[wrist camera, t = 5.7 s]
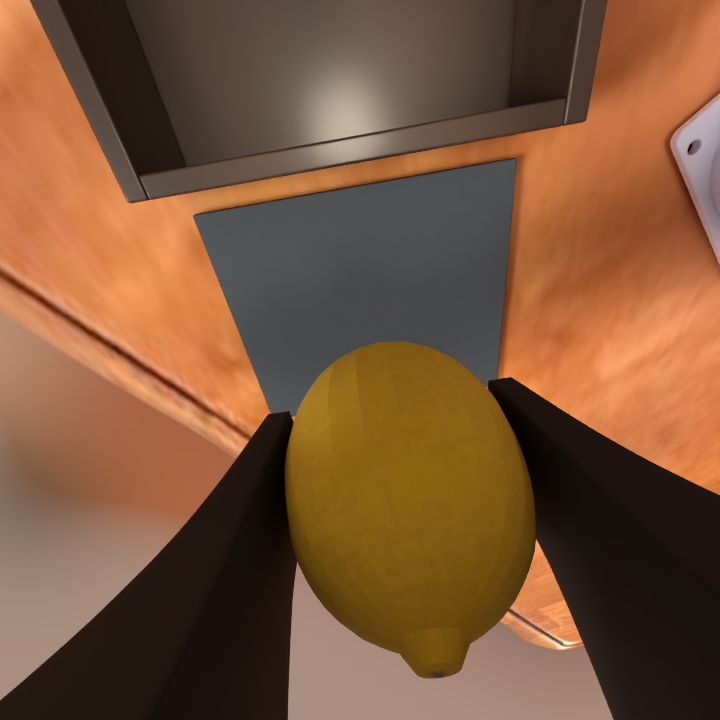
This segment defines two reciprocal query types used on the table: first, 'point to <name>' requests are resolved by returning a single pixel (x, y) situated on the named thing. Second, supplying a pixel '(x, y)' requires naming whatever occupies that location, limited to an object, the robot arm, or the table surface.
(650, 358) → the table surface
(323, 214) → the placemat
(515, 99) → the dark brown shallow box
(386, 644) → the lemon
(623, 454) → the robot arm
